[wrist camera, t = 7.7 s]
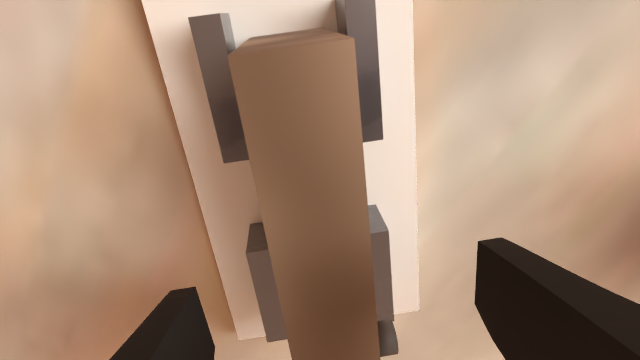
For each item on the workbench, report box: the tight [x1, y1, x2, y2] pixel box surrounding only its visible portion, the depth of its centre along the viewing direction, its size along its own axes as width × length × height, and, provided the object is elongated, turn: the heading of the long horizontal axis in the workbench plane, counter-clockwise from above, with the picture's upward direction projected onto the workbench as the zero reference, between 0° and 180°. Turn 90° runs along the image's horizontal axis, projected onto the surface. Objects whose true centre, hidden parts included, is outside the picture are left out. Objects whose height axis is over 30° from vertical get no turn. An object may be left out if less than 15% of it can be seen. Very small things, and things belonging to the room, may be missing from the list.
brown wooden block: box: [228, 28, 398, 360], centre depth 14 cm, size 4×12×7 cm, turn 7°
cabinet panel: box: [142, 0, 420, 341], centre depth 18 cm, size 10×18×1 cm, turn 7°
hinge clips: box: [188, 0, 394, 342], centre depth 16 cm, size 6×14×2 cm, turn 7°
